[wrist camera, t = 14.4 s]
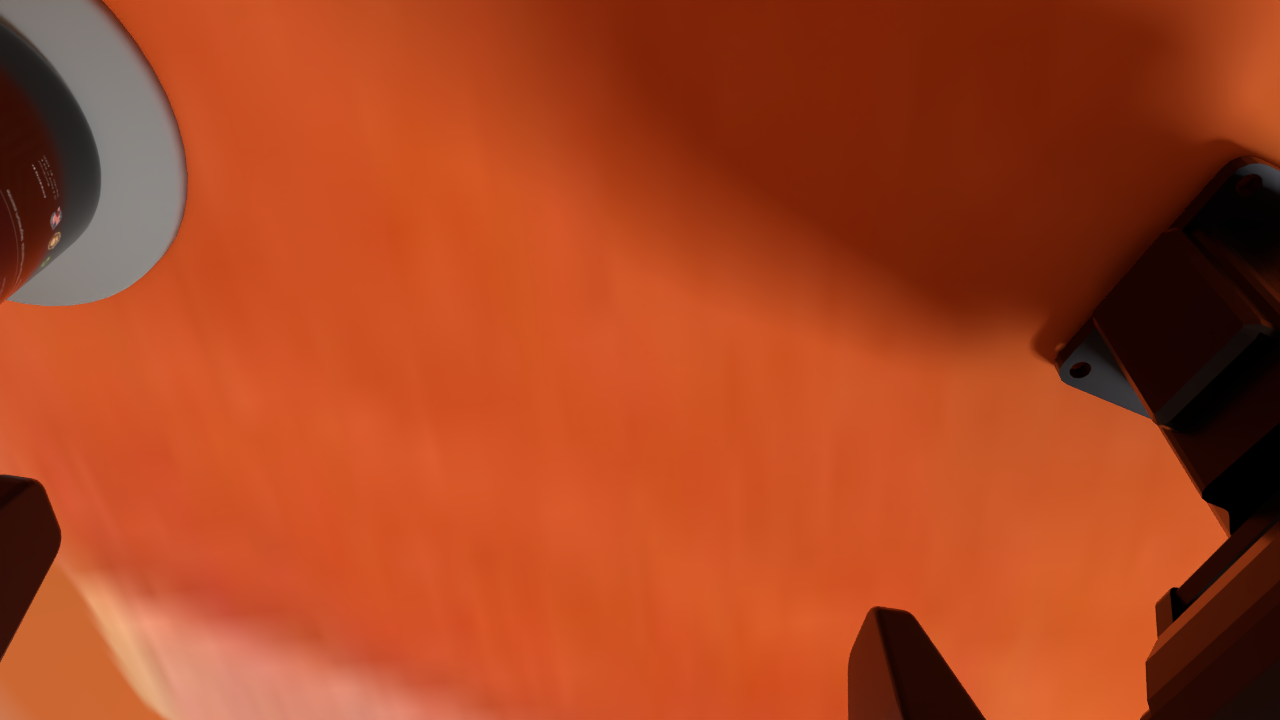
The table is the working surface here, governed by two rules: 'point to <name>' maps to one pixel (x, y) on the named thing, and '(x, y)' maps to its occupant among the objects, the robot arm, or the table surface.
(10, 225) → the supplement bottle
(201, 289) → the table surface
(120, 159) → the coaster
